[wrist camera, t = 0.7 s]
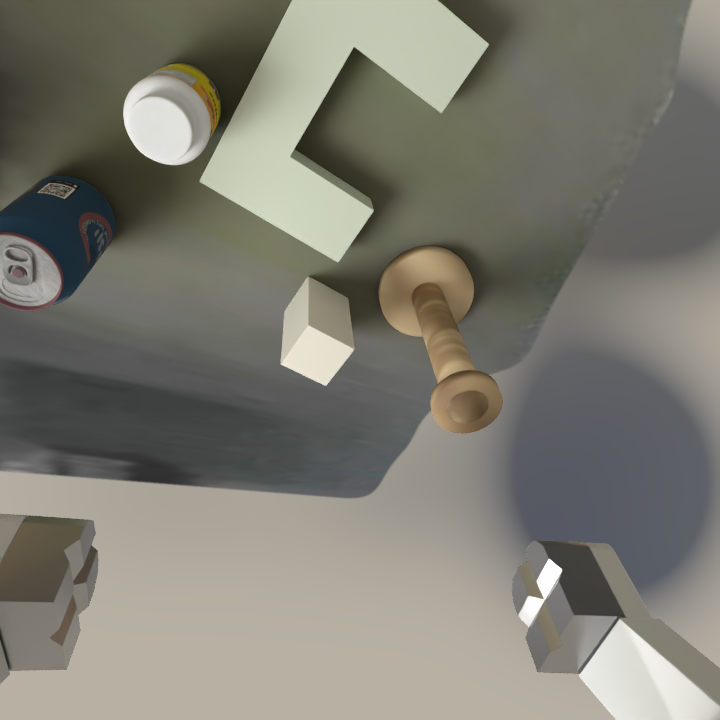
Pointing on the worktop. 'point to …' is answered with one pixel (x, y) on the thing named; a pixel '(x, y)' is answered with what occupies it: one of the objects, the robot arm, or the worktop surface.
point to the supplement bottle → (172, 113)
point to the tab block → (317, 332)
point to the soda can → (51, 241)
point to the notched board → (305, 94)
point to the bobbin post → (441, 332)
